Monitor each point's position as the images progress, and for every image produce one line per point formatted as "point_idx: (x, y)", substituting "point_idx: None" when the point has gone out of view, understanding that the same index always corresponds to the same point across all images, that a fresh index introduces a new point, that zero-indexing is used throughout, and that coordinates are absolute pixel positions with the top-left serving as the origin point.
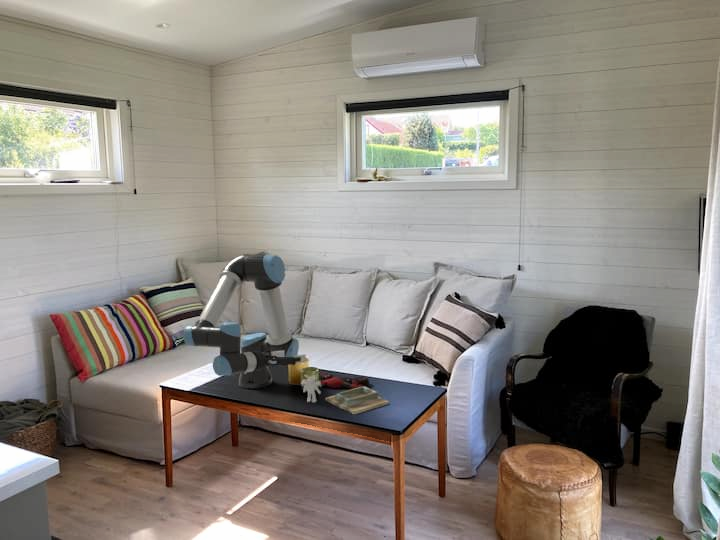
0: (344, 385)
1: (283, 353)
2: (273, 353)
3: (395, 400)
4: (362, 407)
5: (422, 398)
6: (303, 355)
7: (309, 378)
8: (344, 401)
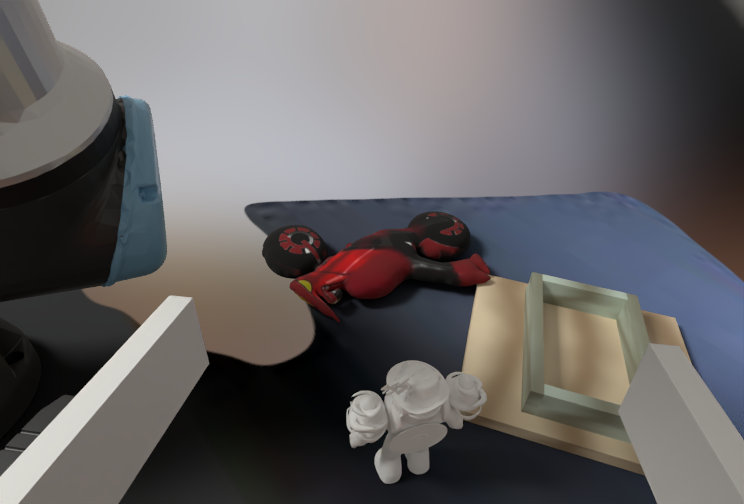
0: (421, 276)
1: (192, 337)
2: (50, 499)
3: (647, 293)
4: None
5: (677, 252)
6: (697, 384)
7: (426, 396)
8: (618, 427)
